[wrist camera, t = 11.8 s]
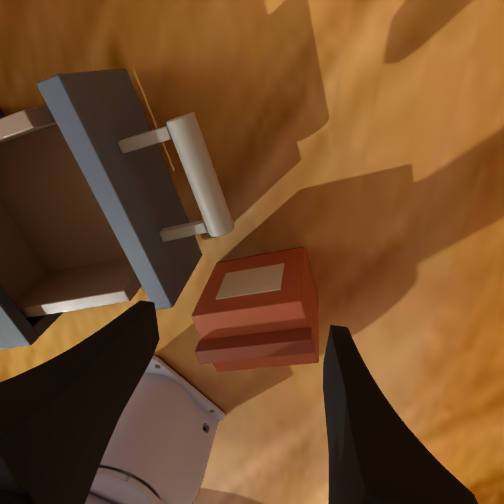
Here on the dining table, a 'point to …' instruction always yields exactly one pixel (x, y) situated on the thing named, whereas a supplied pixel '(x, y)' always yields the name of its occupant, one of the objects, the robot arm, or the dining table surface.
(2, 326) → the cabinet
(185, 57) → the dining table surface
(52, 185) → the drawer
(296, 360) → the ridged terracotta block
